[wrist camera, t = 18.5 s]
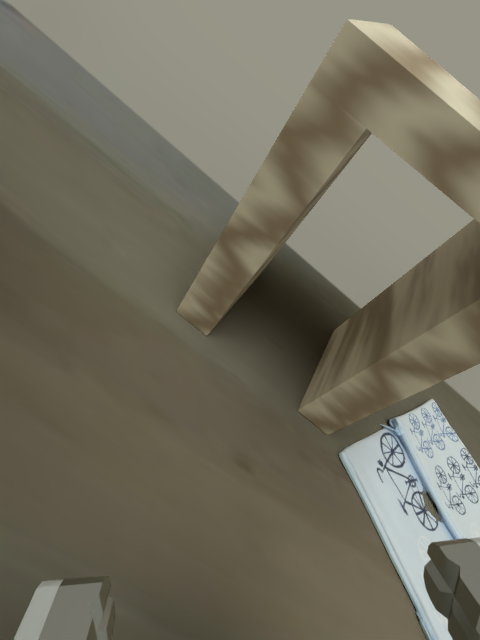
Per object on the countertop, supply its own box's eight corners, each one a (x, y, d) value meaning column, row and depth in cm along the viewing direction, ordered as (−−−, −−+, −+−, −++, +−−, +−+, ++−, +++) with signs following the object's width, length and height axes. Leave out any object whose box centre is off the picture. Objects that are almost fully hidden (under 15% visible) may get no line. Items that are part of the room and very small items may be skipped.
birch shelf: (176, 311, 36) (351, 11, 17) (238, 252, 46) (393, 19, 27) (327, 435, 36) (664, 276, 17) (357, 350, 46) (593, 189, 27)
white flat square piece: (521, 556, 40) (541, 555, 39) (433, 675, 29) (457, 680, 27) (425, 401, 48) (438, 395, 46) (324, 444, 36) (338, 438, 35)
